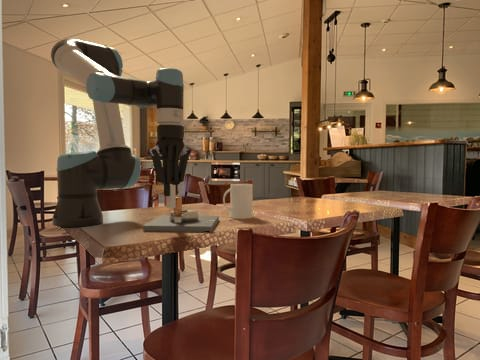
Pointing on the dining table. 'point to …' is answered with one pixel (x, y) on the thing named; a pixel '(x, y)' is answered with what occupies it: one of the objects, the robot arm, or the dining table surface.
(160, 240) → the dining table surface
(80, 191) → the robot arm
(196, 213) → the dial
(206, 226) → the panel
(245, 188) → the mug
